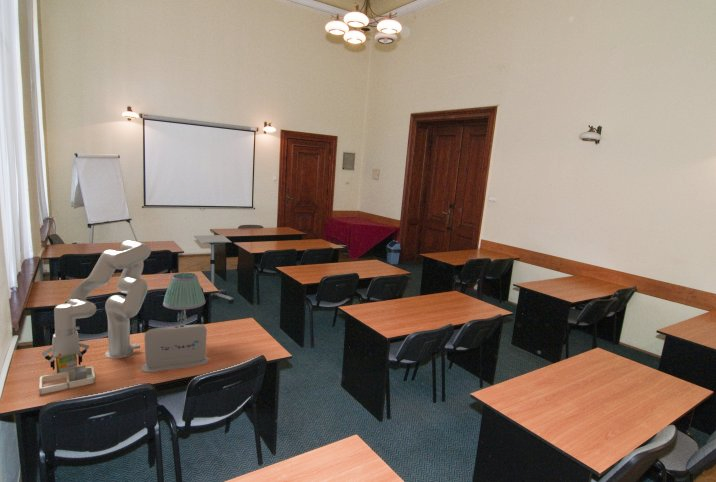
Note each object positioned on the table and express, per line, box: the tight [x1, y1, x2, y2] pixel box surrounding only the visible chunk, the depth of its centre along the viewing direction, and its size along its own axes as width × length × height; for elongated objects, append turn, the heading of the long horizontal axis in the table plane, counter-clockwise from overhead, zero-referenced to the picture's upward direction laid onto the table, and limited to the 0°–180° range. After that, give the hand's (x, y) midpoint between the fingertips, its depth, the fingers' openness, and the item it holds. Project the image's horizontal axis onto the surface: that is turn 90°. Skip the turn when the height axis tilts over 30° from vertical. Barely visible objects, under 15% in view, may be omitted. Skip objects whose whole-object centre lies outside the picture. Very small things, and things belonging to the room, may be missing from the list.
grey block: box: [75, 365, 87, 381], centre depth 176 cm, size 4×6×5 cm, turn 37°
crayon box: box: [55, 354, 78, 373], centre depth 181 cm, size 7×3×12 cm, turn 149°
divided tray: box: [38, 365, 96, 395], centre depth 174 cm, size 19×12×3 cm, turn 127°
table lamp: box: [162, 272, 207, 325], centre depth 217 cm, size 22×22×40 cm
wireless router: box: [140, 323, 210, 373], centre depth 197 cm, size 31×10×20 cm, turn 117°
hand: (66, 366), depth 181 cm, fingers open, 9 cm apart
